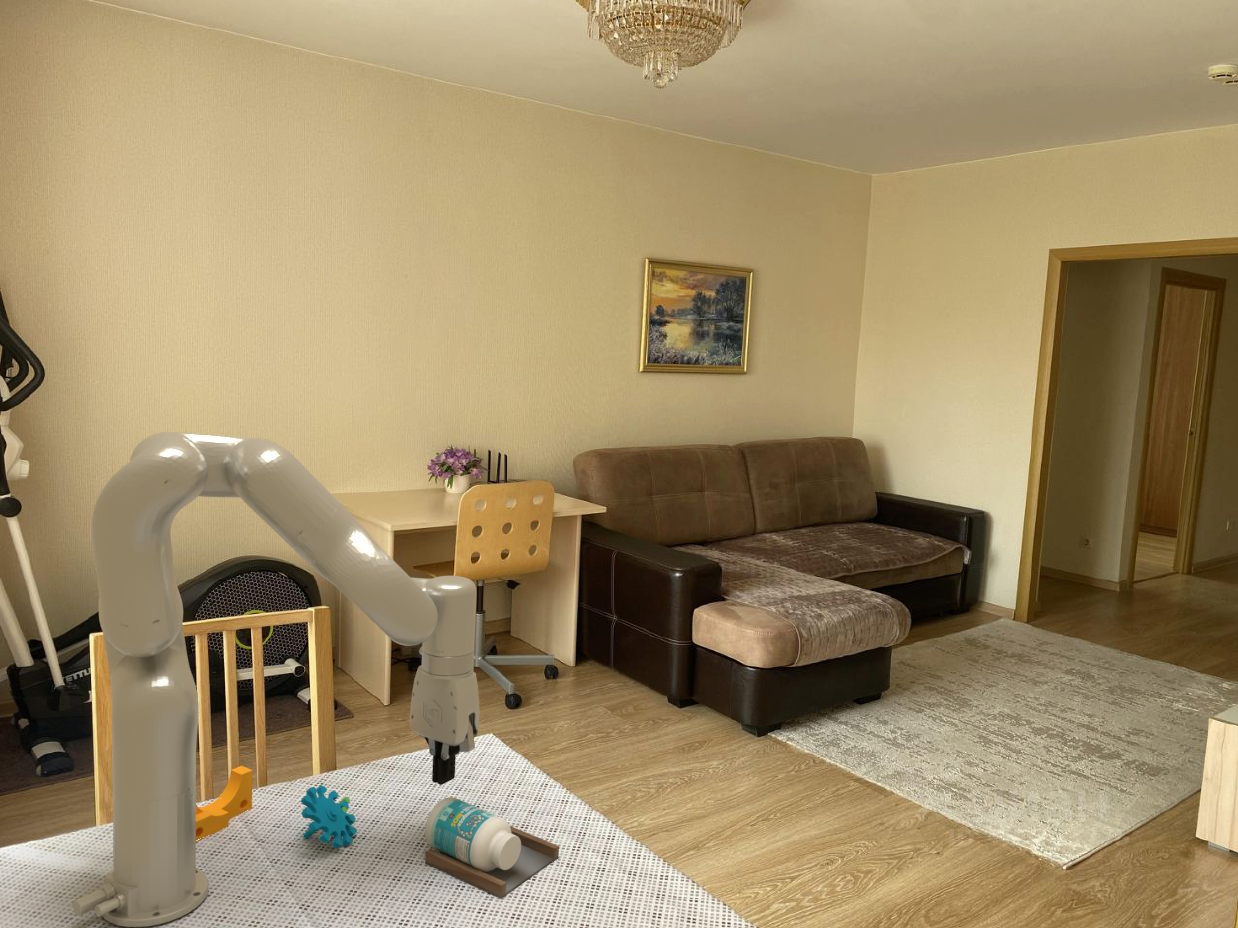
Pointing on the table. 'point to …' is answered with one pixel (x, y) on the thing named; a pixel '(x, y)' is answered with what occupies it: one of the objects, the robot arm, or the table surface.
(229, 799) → the pipe clamp
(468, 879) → the cradle
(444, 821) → the pill bottle
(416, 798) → the table surface
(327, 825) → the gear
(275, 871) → the table surface
